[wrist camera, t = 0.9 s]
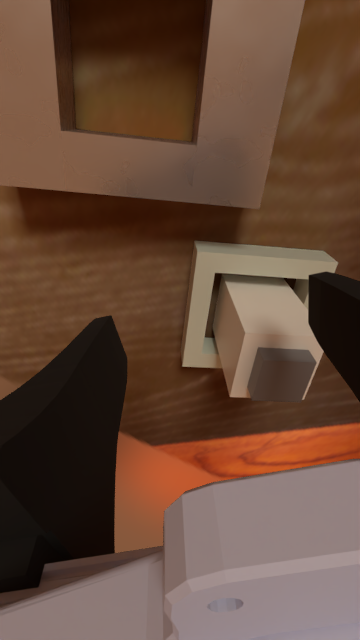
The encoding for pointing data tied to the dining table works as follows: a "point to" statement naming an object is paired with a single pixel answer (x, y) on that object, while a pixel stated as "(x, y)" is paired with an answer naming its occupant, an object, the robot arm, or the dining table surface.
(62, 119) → the port block
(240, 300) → the plug
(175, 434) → the dining table surface
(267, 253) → the beige square frame
